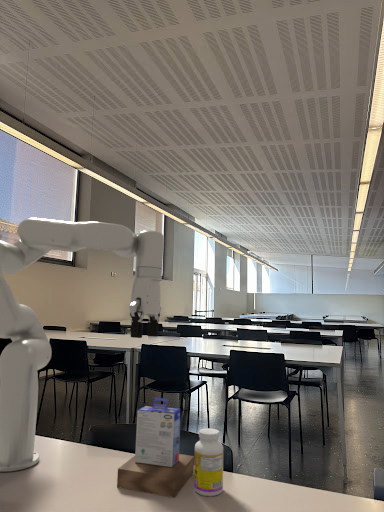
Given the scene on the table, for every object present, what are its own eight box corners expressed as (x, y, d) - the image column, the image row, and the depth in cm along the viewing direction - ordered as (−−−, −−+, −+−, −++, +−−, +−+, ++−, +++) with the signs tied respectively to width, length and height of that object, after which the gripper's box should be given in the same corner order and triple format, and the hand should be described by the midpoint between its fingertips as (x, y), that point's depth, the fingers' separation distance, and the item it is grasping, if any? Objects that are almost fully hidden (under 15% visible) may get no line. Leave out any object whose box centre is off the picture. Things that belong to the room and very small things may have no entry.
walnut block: (116, 487, 88) (117, 468, 89) (143, 465, 101) (143, 448, 102) (174, 497, 84) (174, 477, 85) (193, 473, 97) (194, 456, 98)
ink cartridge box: (180, 459, 95) (181, 398, 97) (173, 468, 90) (175, 403, 92) (142, 455, 97) (145, 395, 100) (134, 463, 92) (136, 400, 94)
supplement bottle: (196, 482, 92) (197, 425, 94) (224, 485, 90) (225, 428, 92) (191, 495, 85) (192, 434, 87) (220, 499, 84) (221, 436, 86)
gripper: (149, 277, 118) (146, 334, 115) (121, 271, 102) (116, 337, 99) (172, 278, 115) (169, 336, 113) (146, 271, 99) (142, 339, 97)
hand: (144, 336), depth 106 cm, fingers open, 9 cm apart
